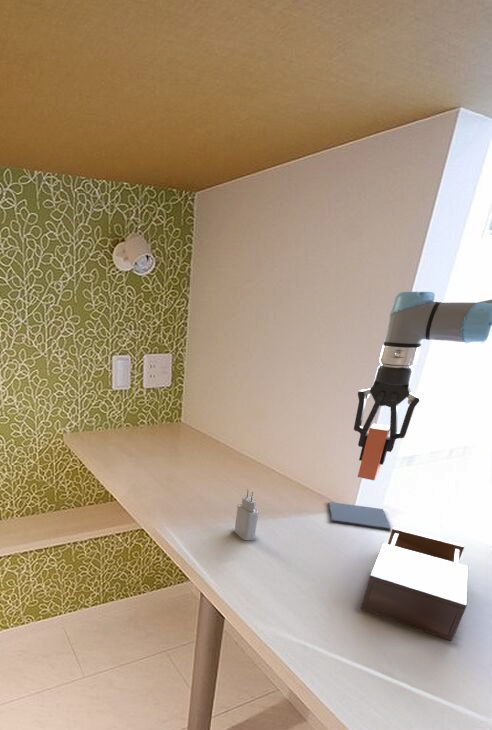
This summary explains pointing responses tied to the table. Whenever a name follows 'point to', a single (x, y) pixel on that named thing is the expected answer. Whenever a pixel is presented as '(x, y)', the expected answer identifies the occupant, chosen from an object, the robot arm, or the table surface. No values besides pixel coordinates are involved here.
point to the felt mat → (358, 515)
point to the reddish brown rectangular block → (373, 451)
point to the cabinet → (417, 590)
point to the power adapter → (246, 518)
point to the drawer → (426, 544)
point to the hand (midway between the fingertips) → (371, 460)
